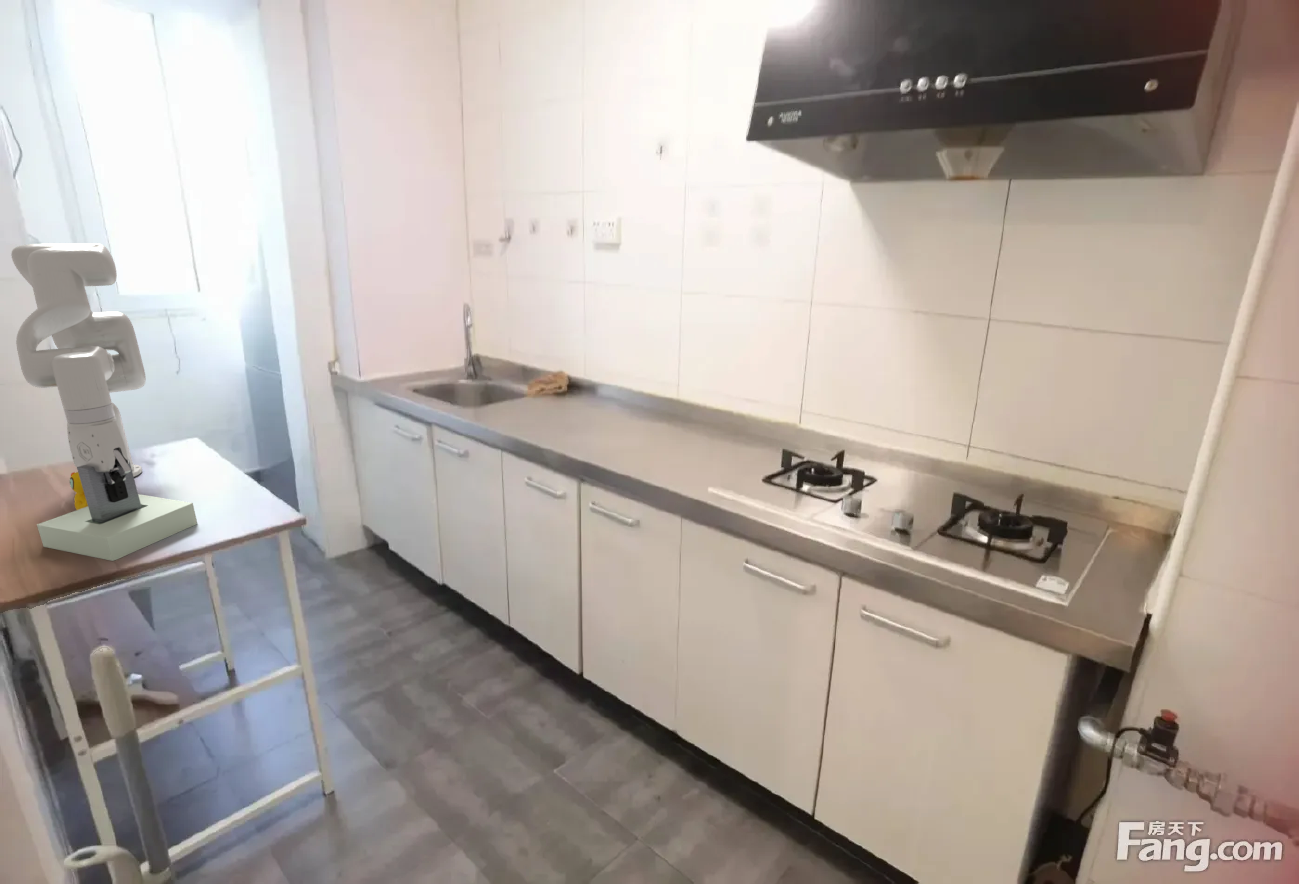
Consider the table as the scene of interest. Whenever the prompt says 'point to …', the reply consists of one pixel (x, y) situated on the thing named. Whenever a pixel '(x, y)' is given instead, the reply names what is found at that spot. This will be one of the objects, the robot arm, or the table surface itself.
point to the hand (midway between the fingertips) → (113, 498)
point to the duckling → (78, 491)
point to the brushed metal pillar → (107, 495)
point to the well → (117, 529)
